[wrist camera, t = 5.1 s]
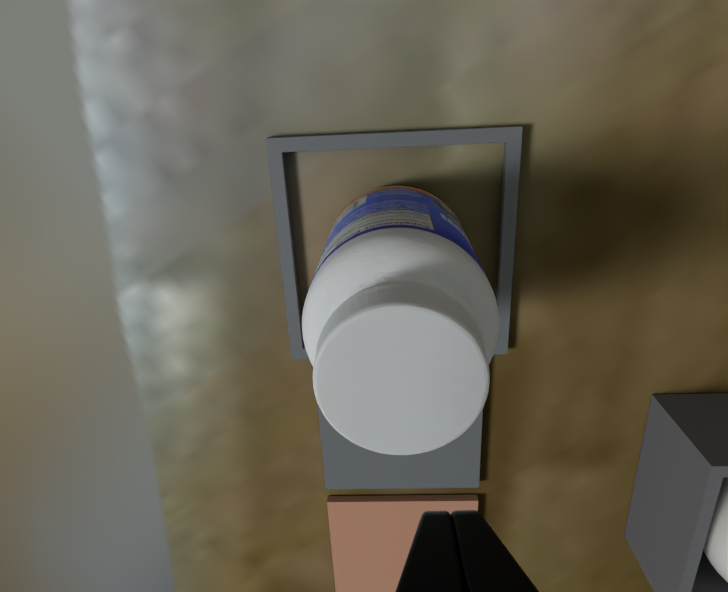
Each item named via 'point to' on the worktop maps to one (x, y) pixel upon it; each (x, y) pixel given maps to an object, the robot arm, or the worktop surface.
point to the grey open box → (679, 491)
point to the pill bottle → (400, 324)
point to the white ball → (719, 533)
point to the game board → (365, 467)
